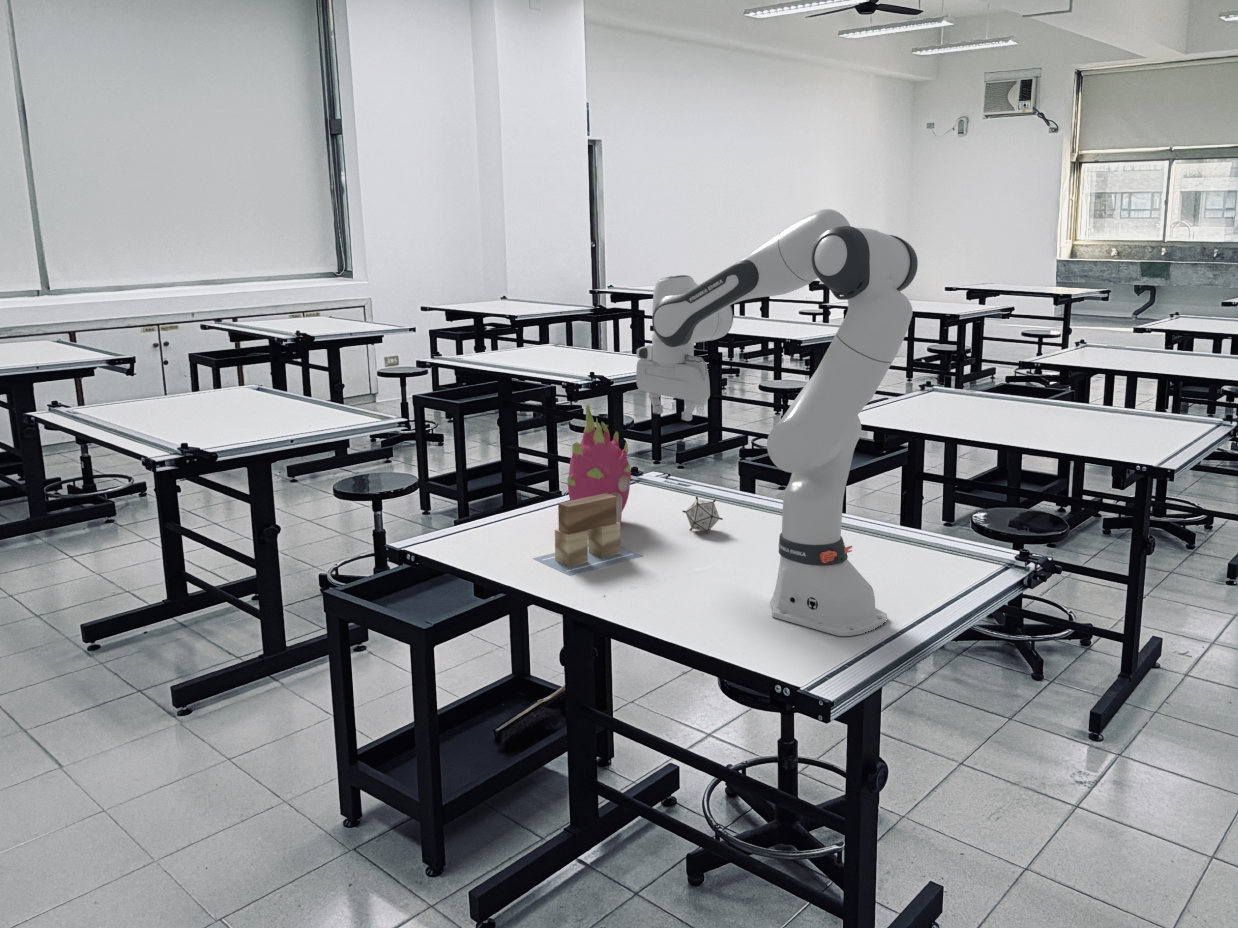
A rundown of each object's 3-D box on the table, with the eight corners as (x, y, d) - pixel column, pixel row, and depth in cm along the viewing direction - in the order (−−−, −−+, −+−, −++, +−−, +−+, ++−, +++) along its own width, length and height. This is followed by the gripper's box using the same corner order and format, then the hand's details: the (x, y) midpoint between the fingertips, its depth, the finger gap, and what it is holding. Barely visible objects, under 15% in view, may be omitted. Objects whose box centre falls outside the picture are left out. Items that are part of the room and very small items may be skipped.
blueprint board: (643, 559, 225) (643, 555, 224) (569, 579, 212) (569, 575, 212) (604, 543, 235) (604, 540, 235) (532, 561, 223) (532, 558, 223)
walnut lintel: (616, 522, 224) (616, 496, 223) (568, 534, 217) (567, 506, 215) (606, 519, 227) (606, 493, 226) (558, 530, 219) (558, 503, 218)
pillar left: (587, 561, 221) (587, 530, 219) (568, 566, 217) (568, 535, 216) (574, 556, 224) (573, 525, 223) (555, 560, 221) (554, 529, 220)
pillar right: (620, 553, 226) (620, 523, 224) (602, 558, 223) (602, 527, 221) (606, 547, 230) (606, 517, 228) (588, 552, 227) (588, 522, 225)
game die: (709, 545, 246) (735, 513, 244) (693, 541, 239) (720, 509, 237) (685, 520, 250) (710, 489, 248) (669, 516, 243) (695, 484, 241)
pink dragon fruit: (587, 540, 237) (586, 413, 230) (553, 527, 248) (551, 405, 240) (646, 526, 248) (646, 404, 241) (611, 513, 258) (610, 396, 251)
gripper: (717, 356, 211) (716, 422, 215) (653, 346, 227) (653, 408, 230) (695, 359, 207) (693, 426, 211) (631, 349, 223) (631, 411, 226)
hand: (672, 416), depth 221 cm, fingers open, 8 cm apart
